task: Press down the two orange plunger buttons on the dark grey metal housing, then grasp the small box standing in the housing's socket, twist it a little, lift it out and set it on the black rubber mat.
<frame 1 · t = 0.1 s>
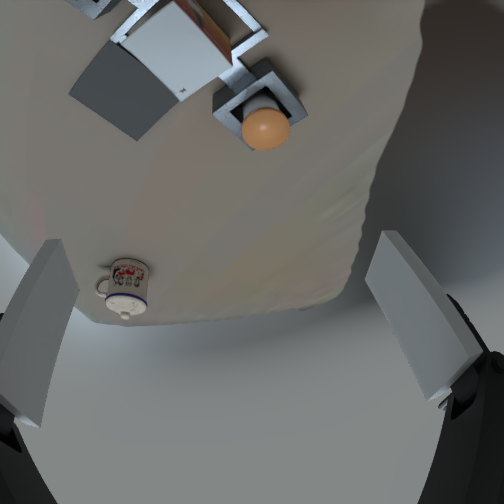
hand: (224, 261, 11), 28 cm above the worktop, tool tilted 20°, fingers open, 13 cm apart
small box: (188, 28, 24), resting in housing
teacup with lid: (124, 267, 61), on the worktop
plunger b: (262, 117, 29), point 6 cm above the worktop, slide at 0.0 cm
mat: (124, 91, 29), on the worktop
housing: (188, 29, 24), on the worktop
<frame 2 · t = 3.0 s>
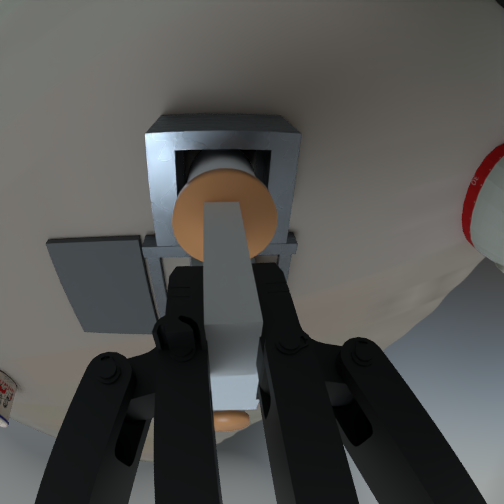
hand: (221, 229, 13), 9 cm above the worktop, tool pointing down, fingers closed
small box: (219, 286, 27), resting in housing
plunger a: (222, 195, 16), point 5 cm above the worktop, slide at 0.5 cm, touching gripper
plunger b: (225, 401, 30), point 6 cm above the worktop, slide at 0.0 cm
mat: (106, 289, 26), on the worktop
kitchen timer: (498, 195, 25), on the worktop
housing: (219, 288, 27), on the worktop
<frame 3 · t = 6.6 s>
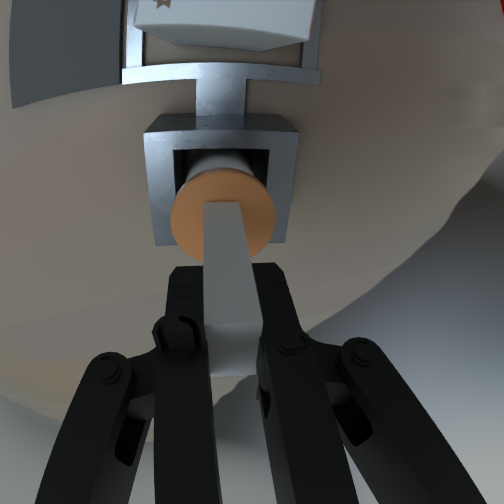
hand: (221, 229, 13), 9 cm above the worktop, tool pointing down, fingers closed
plunger b: (221, 195, 16), point 5 cm above the worktop, slide at 0.5 cm, touching gripper
mat: (63, 16, 11), on the worktop
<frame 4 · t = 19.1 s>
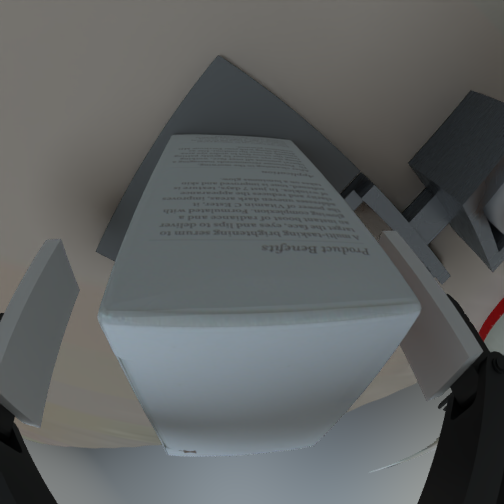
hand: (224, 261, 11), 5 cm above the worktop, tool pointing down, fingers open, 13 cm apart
small box: (226, 207, 15), resting on mat
mat: (219, 204, 15), on the worktop
housing: (349, 285, 20), on the worktop
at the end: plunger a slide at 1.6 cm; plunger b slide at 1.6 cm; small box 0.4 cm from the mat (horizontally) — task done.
